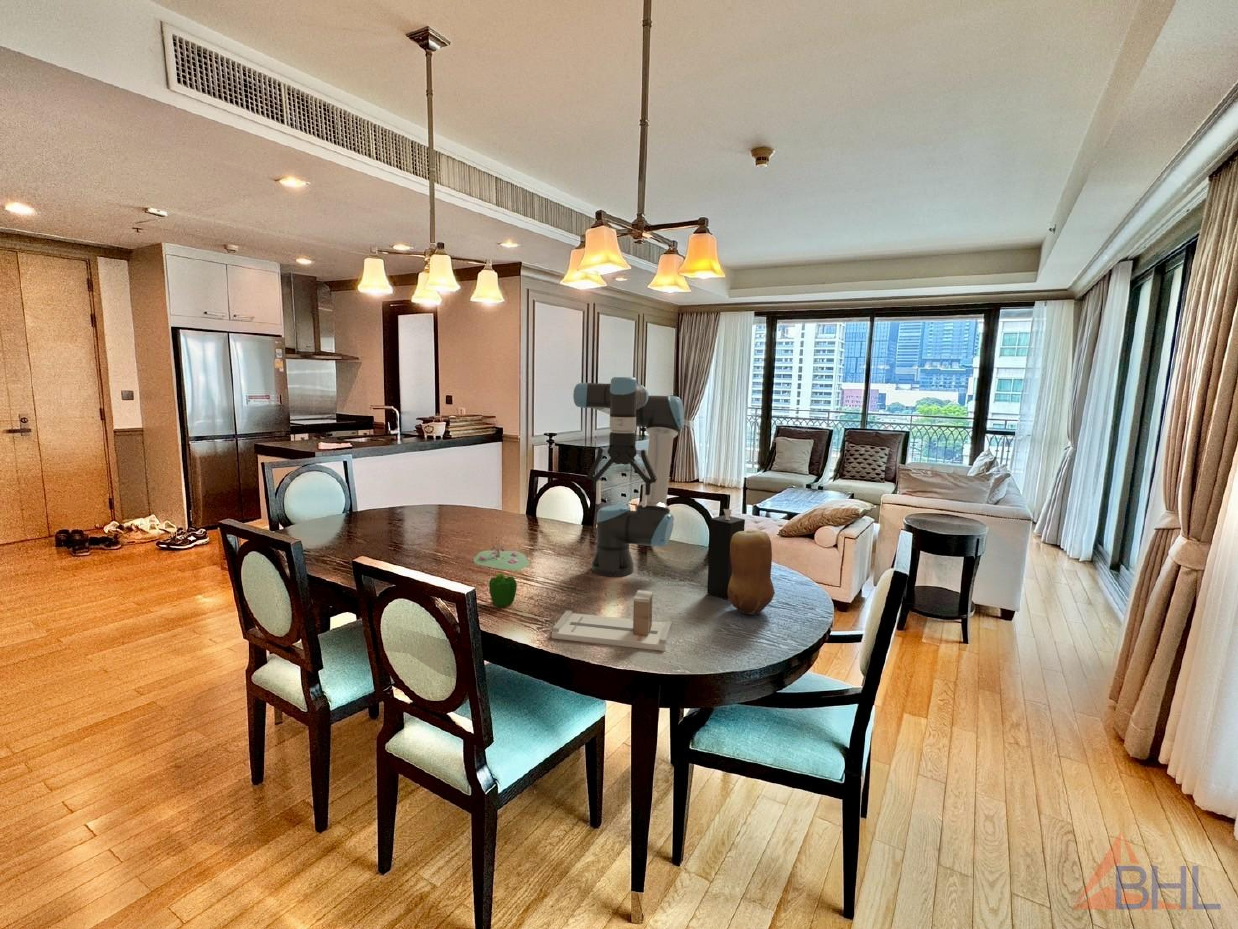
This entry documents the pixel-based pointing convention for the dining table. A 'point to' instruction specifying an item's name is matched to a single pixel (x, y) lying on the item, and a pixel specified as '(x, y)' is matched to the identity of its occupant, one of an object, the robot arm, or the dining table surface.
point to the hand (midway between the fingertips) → (621, 504)
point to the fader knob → (642, 612)
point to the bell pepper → (502, 590)
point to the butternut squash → (750, 571)
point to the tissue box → (721, 552)
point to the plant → (502, 559)
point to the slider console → (610, 631)
